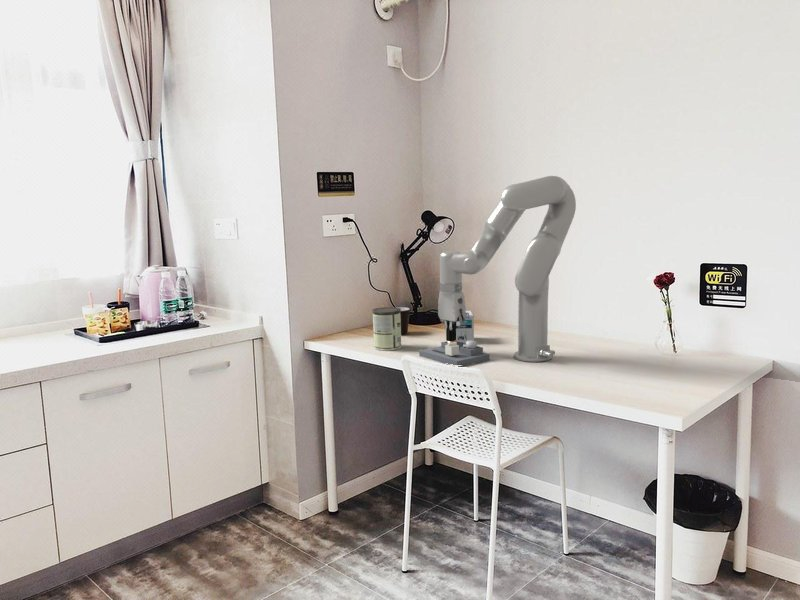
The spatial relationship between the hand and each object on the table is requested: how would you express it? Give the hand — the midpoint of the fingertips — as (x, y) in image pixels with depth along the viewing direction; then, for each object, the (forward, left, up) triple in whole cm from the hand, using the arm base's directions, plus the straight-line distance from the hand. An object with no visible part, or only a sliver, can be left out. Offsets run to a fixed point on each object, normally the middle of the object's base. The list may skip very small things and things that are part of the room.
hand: (451, 340), depth 232 cm
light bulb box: (+13, -17, -5) cm, 22 cm away
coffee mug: (+39, -5, -5) cm, 39 cm away
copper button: (0, 0, -3) cm, 3 cm away
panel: (-5, +3, -5) cm, 8 cm away
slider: (-9, +7, -2) cm, 11 cm away
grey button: (-10, 0, -1) cm, 10 cm away
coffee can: (+23, +11, -5) cm, 26 cm away
